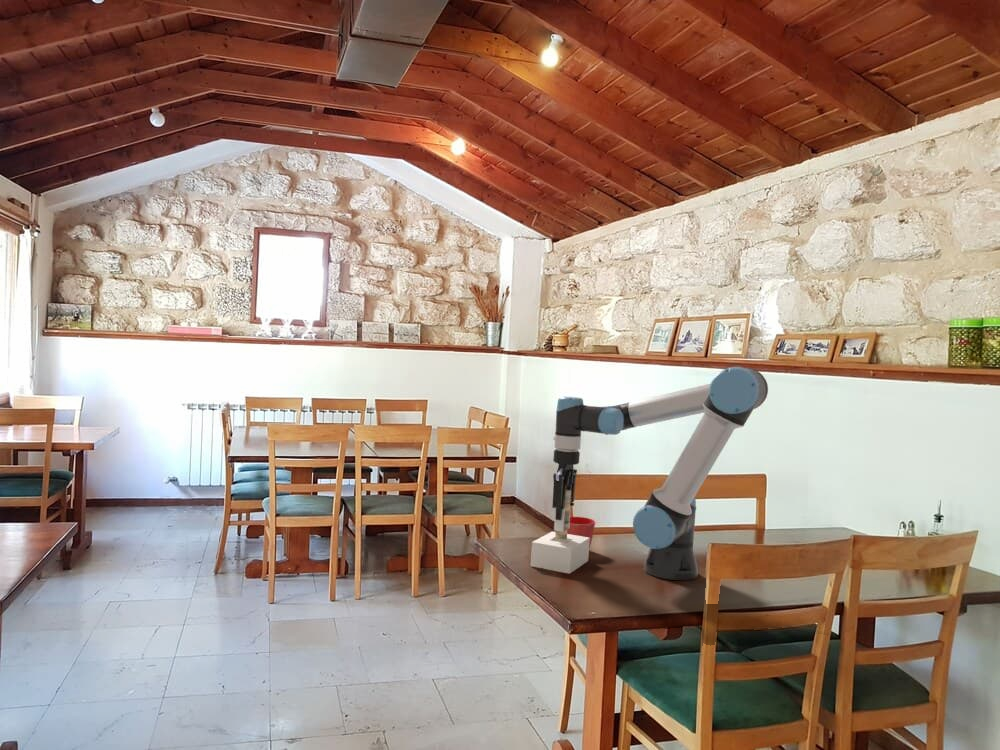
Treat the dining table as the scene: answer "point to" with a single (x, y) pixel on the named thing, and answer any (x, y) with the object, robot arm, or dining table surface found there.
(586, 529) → the flower pot
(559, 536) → the beech peg
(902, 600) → the dining table surface
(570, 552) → the socket block
